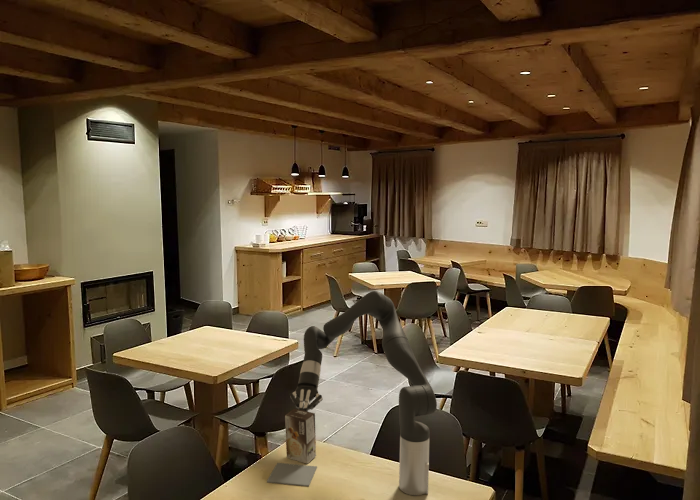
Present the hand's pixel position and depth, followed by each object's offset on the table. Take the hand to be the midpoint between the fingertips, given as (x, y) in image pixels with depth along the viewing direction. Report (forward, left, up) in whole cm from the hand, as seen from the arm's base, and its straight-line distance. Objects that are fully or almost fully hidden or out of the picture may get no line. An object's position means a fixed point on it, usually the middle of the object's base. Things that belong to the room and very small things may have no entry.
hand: (301, 419), depth 188 cm
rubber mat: (-1, +16, -12) cm, 20 cm away
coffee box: (-1, +4, -12) cm, 13 cm away
